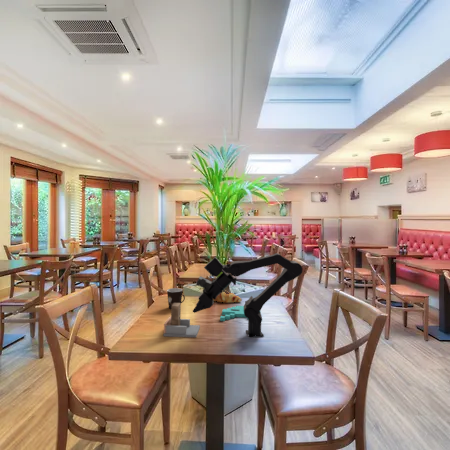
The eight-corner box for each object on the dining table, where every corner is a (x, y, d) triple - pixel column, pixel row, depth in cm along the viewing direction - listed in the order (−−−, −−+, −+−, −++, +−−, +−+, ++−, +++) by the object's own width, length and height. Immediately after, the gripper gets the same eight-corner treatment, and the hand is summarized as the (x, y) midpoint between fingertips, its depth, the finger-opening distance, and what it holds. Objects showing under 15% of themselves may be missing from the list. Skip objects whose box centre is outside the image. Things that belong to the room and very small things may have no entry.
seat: (199, 327, 131) (200, 316, 131) (196, 337, 120) (196, 325, 120) (169, 326, 132) (169, 315, 132) (163, 336, 121) (163, 324, 121)
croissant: (242, 307, 174) (243, 294, 178) (240, 303, 166) (241, 289, 169) (209, 303, 179) (211, 290, 183) (205, 299, 170) (207, 286, 174)
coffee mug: (165, 306, 162) (165, 288, 161) (180, 304, 165) (180, 287, 165) (170, 312, 151) (170, 294, 151) (185, 310, 155) (186, 292, 154)
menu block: (180, 327, 129) (180, 302, 128) (177, 331, 124) (178, 306, 123) (173, 326, 129) (174, 302, 129) (171, 331, 124) (171, 306, 124)
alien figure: (261, 324, 138) (260, 310, 158) (261, 319, 138) (260, 306, 158) (220, 321, 140) (224, 309, 160) (220, 317, 140) (224, 305, 160)
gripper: (209, 267, 134) (186, 290, 135) (204, 274, 116) (177, 301, 117) (226, 284, 134) (203, 307, 135) (223, 294, 115) (196, 321, 116)
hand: (195, 308), depth 126 cm, fingers open, 9 cm apart
